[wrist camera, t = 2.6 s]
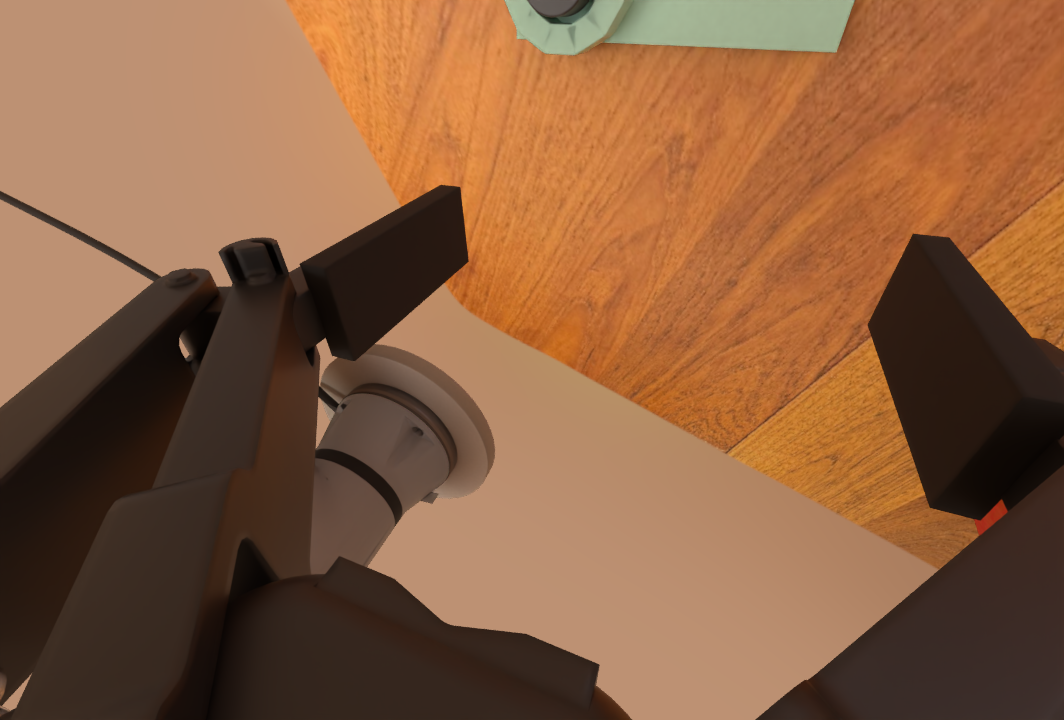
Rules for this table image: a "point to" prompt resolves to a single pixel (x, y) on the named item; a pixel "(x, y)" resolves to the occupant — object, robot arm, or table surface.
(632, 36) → the scale
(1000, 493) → the robot arm
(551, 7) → the button
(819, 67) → the table surface
